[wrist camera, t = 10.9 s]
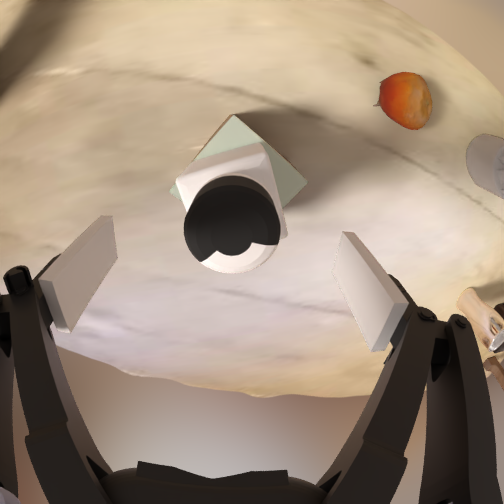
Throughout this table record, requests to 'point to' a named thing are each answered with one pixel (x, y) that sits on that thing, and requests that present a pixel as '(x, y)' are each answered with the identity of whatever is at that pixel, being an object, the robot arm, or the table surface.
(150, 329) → the table surface
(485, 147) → the lumpy-topped squat cylinder
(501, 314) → the coffee grinder
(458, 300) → the beer glass
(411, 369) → the robot arm
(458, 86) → the table surface
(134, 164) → the table surface
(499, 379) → the wooden block
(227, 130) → the sage slab
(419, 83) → the fruit
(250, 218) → the medicine bottle
